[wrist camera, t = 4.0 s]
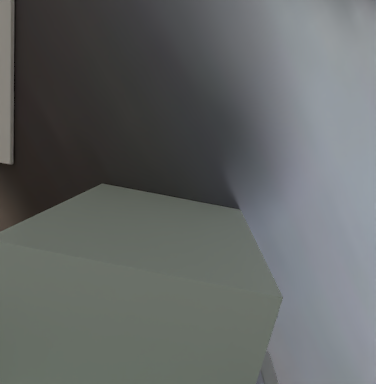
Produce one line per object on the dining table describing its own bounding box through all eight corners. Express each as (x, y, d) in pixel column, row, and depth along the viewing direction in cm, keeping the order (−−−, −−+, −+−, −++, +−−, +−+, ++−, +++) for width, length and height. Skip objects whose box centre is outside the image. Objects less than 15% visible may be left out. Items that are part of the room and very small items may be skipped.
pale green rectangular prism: (240, 209, 12) (282, 297, 5) (202, 366, 14) (201, 558, 8) (102, 183, 12) (-15, 238, 6) (87, 342, 14) (-9, 512, 8)
